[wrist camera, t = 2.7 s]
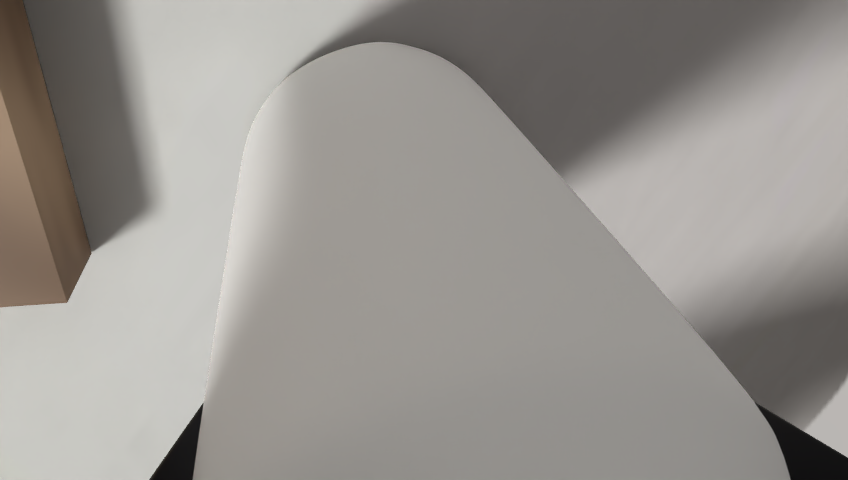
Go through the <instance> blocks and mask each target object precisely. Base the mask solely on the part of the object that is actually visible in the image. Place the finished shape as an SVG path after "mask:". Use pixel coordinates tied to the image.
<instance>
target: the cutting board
mask: <svg viewBox="0 0 848 480" xmlns="http://www.w3.org/2000/svg"><path fill="white" fill-rule="evenodd" d="M90 255H91V250H90V246H89V242H88V239H87V235H86V231H85V228H84V224H83V220H82V217H81V213H80V209H79V206H78V202H77V198H76V195H75V191H74V187H73V184H72V180H71V176H70V173H69V169H68V165H67V162H66V158H65V154H64V151H63V147H62V143H61V140H60V136H59V132H58V129H57V125H56V121H55V118H54V114H53V110H52V107H51V103H50V99H49V96H48V92H47V88H46V85H45V81H44V77H43V74H42V70H41V66H40V63H39V59H38V55H37V52H36V48H35V44H34V41H33V37H32V33H31V30H30V26H29V22H28V19H27V15H26V11H25V8H24V4H23V0H0V307H9V306H24V305H39V304H54V303H67V302H68V300H69V298H70V296H71V294H72V292H73V290H74V288H75V286H76V284H77V282H78V279H79V277H80V275H81V273H82V271H83V269H84V267H85V265H86V263H87V261H88V259H89V257H90Z"/></svg>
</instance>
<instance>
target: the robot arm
mask: <svg viewBox="0 0 848 480" xmlns="http://www.w3.org/2000/svg"><path fill="white" fill-rule="evenodd" d="M754 403H755V402H754ZM203 404H204V403H203ZM203 404H202V405H201V407H200V408H199V410H198V411H197V413H196V414H195V415H194V417H193V418H192V420H191V421H190V422H189V424H188V425H187V427H186V428H185V430H184V431H183V432H182V434H181V435H180V437H179V438H178V440H177V441H176V442H175V444H174V445H173V447H172V448H171V449H170V451H169V452H168V454H167V455H166V457H165V458H164V459H163V461H162V462H161V464H160V465H159V467H158V468H157V469H156V471H155V472H154V474H153V475H152V477H151V478H150V479H149V480H193V474H194V466H195V459H196V452H197V445H198V438H199V431H200V424H201V417H202V411H203ZM755 404H756V406H757V407H758V408H759V410H760V411H761V413H762V414H763V416H764V417H765V419H766V420H767V421H768V423H769V425H770V426H771V428H772V430H773V432H774V434H775V436H776V438H777V440H778V443H779V446H780V448H781V451H782V453H783V456H784V459H785V462H786V465H787V469H788V472H789V475H790V479H791V480H848V458H847V457H846V456H844V455H842V454H841V453H839V452H837V451H836V450H834V449H832V448H831V447H829V446H827V445H826V444H824V443H822V442H820V441H819V440H817V439H815V438H813V437H812V436H810V435H809V434H807V433H805V432H804V431H802V430H800V429H799V428H797V427H795V426H794V425H792V424H790V423H789V422H787V421H785V420H784V419H782V418H780V417H779V416H777V415H775V414H774V413H772V412H770V411H768V410H767V409H765V408H763V407H762V406H760V405H758V404H757V403H755Z"/></svg>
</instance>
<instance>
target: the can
mask: <svg viewBox="0 0 848 480" xmlns="http://www.w3.org/2000/svg"><path fill="white" fill-rule="evenodd" d="M193 480H791V479H790V475H789V472H788V469H787V465H786V462H785V459H784V456H783V453H782V451H781V448H780V446H779V443H778V440H777V438H776V436H775V434H774V432H773V430H772V428H771V426H770V425H769V423H768V421H767V420H766V419H765V417H764V416H763V414H762V413H761V411H760V410H759V408H758V407H757V406H756V404H755V403H754V401H753V400H752V398H751V397H750V396H749V394H748V393H747V392H746V391H745V389H744V388H743V387H742V386H741V384H740V383H739V382H738V381H737V380H736V378H735V377H734V376H733V375H732V373H731V372H730V371H729V370H728V369H727V367H726V366H725V365H724V364H723V362H722V361H721V360H720V359H719V358H718V356H717V355H716V354H715V353H714V352H713V350H712V349H711V348H710V347H709V346H708V345H707V343H706V342H705V341H704V340H703V339H702V338H701V337H700V335H699V334H698V333H697V332H696V331H695V330H694V328H693V327H692V326H691V325H690V324H689V323H688V321H687V320H686V319H685V318H684V317H683V316H682V314H681V313H680V312H679V311H678V310H677V309H676V308H675V306H674V305H673V304H672V303H671V302H670V301H669V299H668V298H667V297H666V296H665V295H664V294H663V293H662V291H661V290H660V289H659V288H658V287H657V286H656V285H655V283H654V282H653V281H652V280H651V279H650V278H649V277H648V275H647V274H646V273H645V272H644V271H643V270H642V269H641V267H640V266H639V265H638V264H637V263H636V262H635V261H634V259H633V258H632V257H631V256H630V255H629V254H628V253H627V251H626V250H625V249H624V248H623V247H622V246H621V245H620V243H619V242H618V241H617V240H616V239H615V238H614V237H613V235H612V234H611V233H610V232H609V231H608V230H607V229H606V227H605V226H604V225H603V224H602V223H601V222H600V221H599V219H598V218H597V217H596V216H595V215H594V214H593V213H592V212H591V210H590V209H589V208H588V207H587V206H586V205H585V204H584V202H583V201H582V200H581V199H580V198H579V197H578V196H577V194H576V193H575V192H574V191H573V190H572V189H571V188H570V187H569V185H568V184H567V183H566V182H565V181H564V180H563V179H562V177H561V176H560V175H559V174H558V173H557V172H556V171H555V170H554V168H553V167H552V166H551V165H550V164H549V163H548V162H547V161H546V159H545V158H544V157H543V156H542V155H541V154H540V153H539V152H538V150H537V149H536V148H535V147H534V146H533V145H532V144H531V143H530V141H529V140H528V139H527V138H526V137H525V136H524V135H523V133H522V132H521V131H520V130H519V129H518V128H517V127H516V126H515V125H514V123H513V122H512V121H511V120H510V119H509V118H508V117H507V116H506V115H505V113H504V112H503V111H502V110H501V109H500V108H499V107H498V106H497V104H496V103H495V102H494V101H493V100H492V99H491V98H490V97H489V96H488V95H487V94H486V93H485V91H484V90H483V89H482V88H481V87H480V86H479V85H478V84H477V83H476V82H475V81H474V80H473V79H472V78H471V77H469V76H468V75H467V74H466V73H465V72H463V71H462V70H461V69H459V68H458V67H457V66H455V65H454V64H452V63H451V62H449V61H447V60H445V59H444V58H442V57H440V56H438V55H435V54H433V53H431V52H428V51H425V50H422V49H419V48H416V47H412V46H408V45H404V44H399V43H391V42H372V43H364V44H358V45H353V46H349V47H346V48H342V49H339V50H336V51H334V52H331V53H329V54H326V55H324V56H322V57H319V58H317V59H315V60H313V61H311V62H309V63H308V64H306V65H304V66H302V67H301V68H299V69H298V70H296V71H295V72H293V73H292V74H291V75H289V76H288V77H287V78H286V79H285V80H283V81H282V82H281V83H280V84H279V85H278V86H277V87H276V88H275V89H274V91H273V92H272V93H271V94H270V95H269V97H268V98H267V99H266V101H265V102H264V104H263V105H262V107H261V108H260V110H259V112H258V114H257V115H256V117H255V119H254V122H253V124H252V126H251V129H250V131H249V134H248V137H247V140H246V144H245V148H244V153H243V157H242V163H241V168H240V174H239V180H238V186H237V192H236V198H235V204H234V210H233V216H232V223H231V229H230V235H229V242H228V248H227V254H226V261H225V267H224V273H223V280H222V286H221V293H220V299H219V306H218V312H217V319H216V325H215V332H214V338H213V345H212V351H211V358H210V364H209V371H208V378H207V384H206V391H205V398H204V404H203V411H202V417H201V424H200V431H199V438H198V445H197V452H196V459H195V466H194V474H193Z"/></svg>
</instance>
